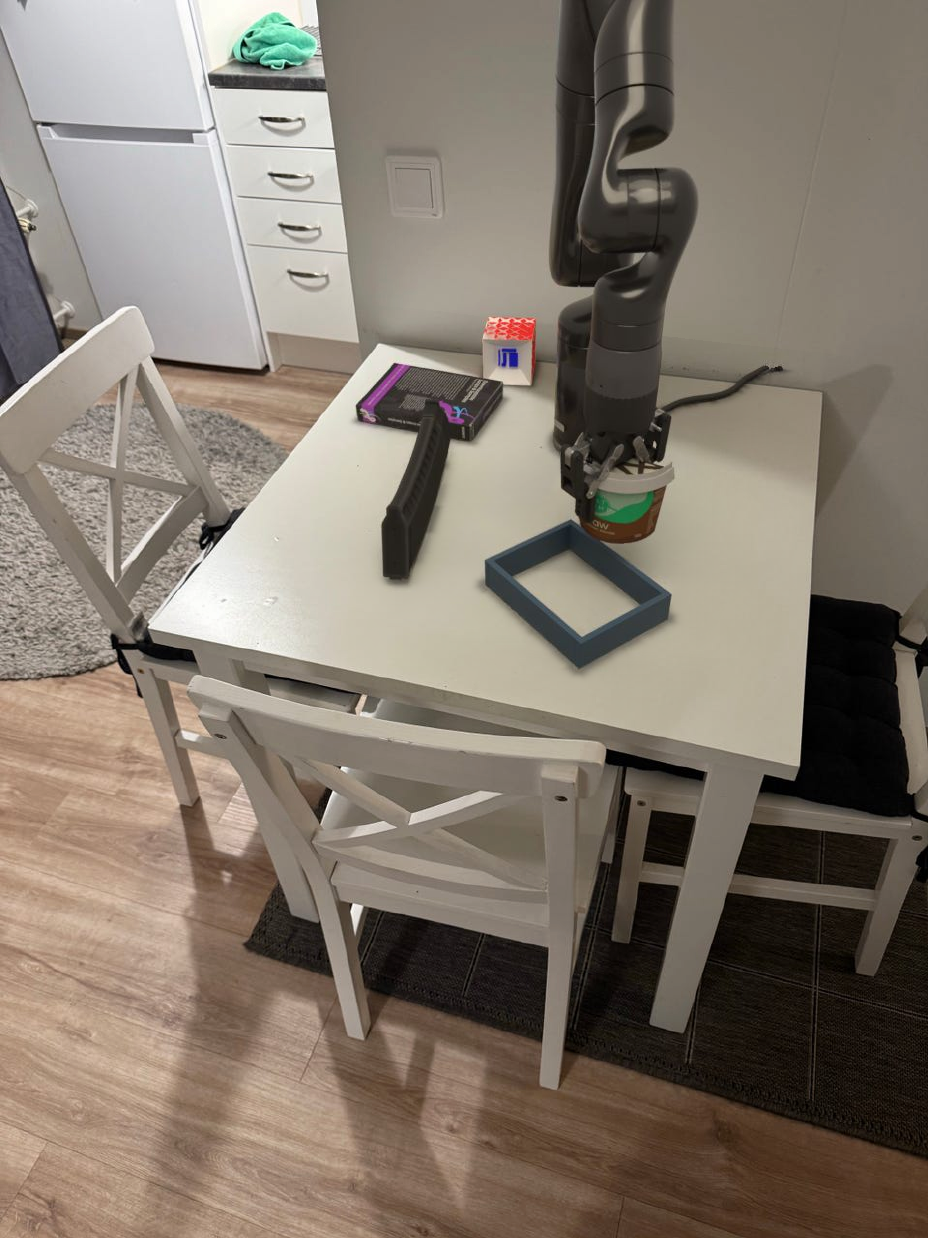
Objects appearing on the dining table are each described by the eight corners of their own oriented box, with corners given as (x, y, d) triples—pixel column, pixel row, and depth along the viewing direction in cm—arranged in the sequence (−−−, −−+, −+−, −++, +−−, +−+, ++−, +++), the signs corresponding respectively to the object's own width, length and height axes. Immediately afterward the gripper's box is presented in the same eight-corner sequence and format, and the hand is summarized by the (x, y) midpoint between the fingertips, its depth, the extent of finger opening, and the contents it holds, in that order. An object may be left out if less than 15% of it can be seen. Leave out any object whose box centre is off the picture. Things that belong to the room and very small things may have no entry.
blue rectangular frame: (569, 543, 118) (571, 518, 116) (667, 619, 107) (672, 593, 105) (485, 584, 113) (484, 559, 110) (579, 669, 102) (580, 643, 99)
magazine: (398, 542, 105) (440, 356, 120) (371, 540, 106) (416, 355, 120) (417, 617, 120) (452, 443, 135) (393, 615, 120) (431, 441, 135)
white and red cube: (535, 362, 155) (536, 318, 149) (531, 385, 149) (532, 340, 144) (488, 361, 156) (487, 316, 150) (483, 383, 150) (481, 338, 145)
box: (357, 423, 143) (471, 444, 137) (354, 403, 141) (470, 423, 134) (396, 381, 152) (504, 398, 146) (393, 361, 150) (504, 378, 143)
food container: (547, 527, 108) (550, 455, 101) (574, 501, 111) (578, 430, 104) (641, 563, 102) (651, 490, 95) (666, 535, 106) (676, 462, 99)
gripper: (591, 414, 88) (582, 547, 100) (699, 369, 94) (679, 500, 105) (544, 384, 93) (540, 514, 104) (649, 342, 98) (635, 471, 110)
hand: (610, 507), depth 105 cm, fingers closed on food container, 7 cm apart
